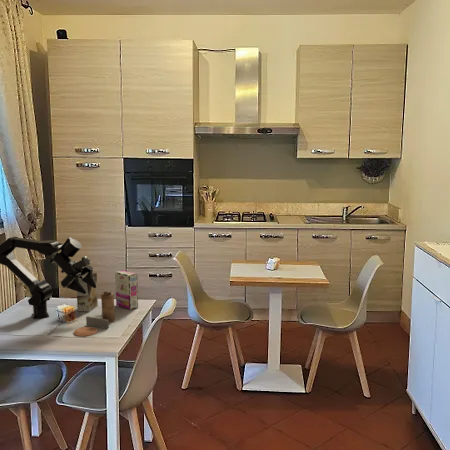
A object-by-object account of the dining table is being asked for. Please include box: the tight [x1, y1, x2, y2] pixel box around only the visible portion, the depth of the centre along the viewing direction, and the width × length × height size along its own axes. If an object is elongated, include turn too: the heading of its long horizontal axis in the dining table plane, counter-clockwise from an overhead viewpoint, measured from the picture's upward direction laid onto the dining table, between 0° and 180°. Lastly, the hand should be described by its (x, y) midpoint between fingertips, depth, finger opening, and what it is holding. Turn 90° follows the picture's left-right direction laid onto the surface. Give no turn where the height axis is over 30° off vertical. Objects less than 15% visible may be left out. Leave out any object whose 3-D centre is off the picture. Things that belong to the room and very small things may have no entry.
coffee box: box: [76, 272, 99, 312], centre depth 224 cm, size 9×6×16 cm
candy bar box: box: [114, 270, 139, 311], centre depth 226 cm, size 11×5×16 cm, turn 48°
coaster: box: [73, 326, 98, 337], centre depth 195 cm, size 9×9×1 cm
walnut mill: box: [100, 290, 116, 324], centre depth 206 cm, size 5×5×13 cm
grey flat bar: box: [85, 315, 110, 330], centre depth 201 cm, size 11×1×4 cm, turn 65°
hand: (90, 290), depth 207 cm, fingers open, 9 cm apart
